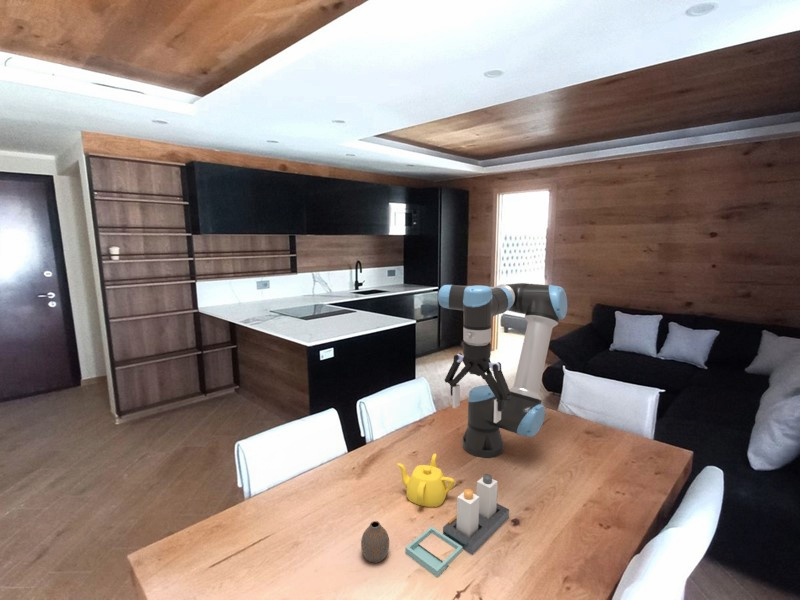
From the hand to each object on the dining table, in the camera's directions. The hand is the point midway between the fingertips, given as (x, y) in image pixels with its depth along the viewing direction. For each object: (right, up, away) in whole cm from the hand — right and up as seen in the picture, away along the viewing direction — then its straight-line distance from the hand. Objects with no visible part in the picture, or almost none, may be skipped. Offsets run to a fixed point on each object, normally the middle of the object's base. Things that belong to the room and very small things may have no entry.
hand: (475, 413), depth 112 cm
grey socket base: (-1, -29, -7) cm, 30 cm away
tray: (-13, -30, -15) cm, 36 cm away
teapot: (-14, -27, +7) cm, 32 cm away
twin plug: (+2, -28, -4) cm, 28 cm away
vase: (-28, -31, -16) cm, 44 cm away
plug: (-4, -29, -10) cm, 31 cm away
